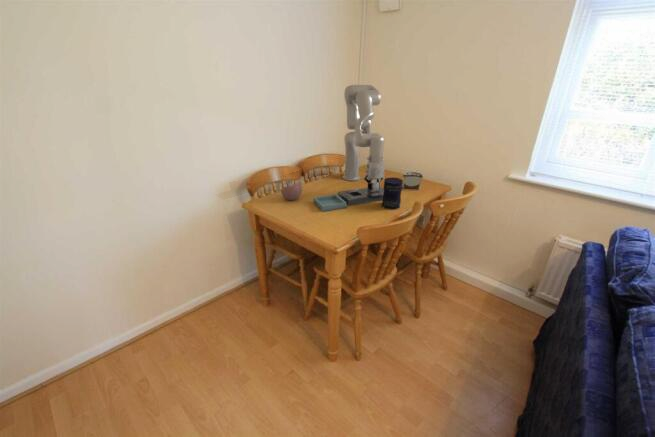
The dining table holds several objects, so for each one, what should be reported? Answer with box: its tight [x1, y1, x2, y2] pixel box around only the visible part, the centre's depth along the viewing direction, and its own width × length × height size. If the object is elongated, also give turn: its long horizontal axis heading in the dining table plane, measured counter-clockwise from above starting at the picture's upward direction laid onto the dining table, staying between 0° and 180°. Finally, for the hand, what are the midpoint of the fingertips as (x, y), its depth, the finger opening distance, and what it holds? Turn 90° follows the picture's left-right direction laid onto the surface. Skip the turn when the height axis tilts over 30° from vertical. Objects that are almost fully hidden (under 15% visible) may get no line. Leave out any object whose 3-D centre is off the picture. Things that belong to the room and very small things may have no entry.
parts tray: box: [313, 193, 348, 213], centre depth 168 cm, size 14×14×3 cm
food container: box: [402, 171, 424, 191], centre depth 193 cm, size 12×6×10 cm, turn 84°
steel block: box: [368, 179, 379, 193], centre depth 179 cm, size 4×4×9 cm
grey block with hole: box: [337, 186, 384, 207], centre depth 178 cm, size 14×28×4 cm, turn 113°
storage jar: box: [381, 177, 404, 210], centre depth 165 cm, size 10×10×15 cm
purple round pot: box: [280, 179, 303, 201], centre depth 174 cm, size 12×12×12 cm
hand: (373, 188), depth 179 cm, fingers closed on steel block, 4 cm apart
